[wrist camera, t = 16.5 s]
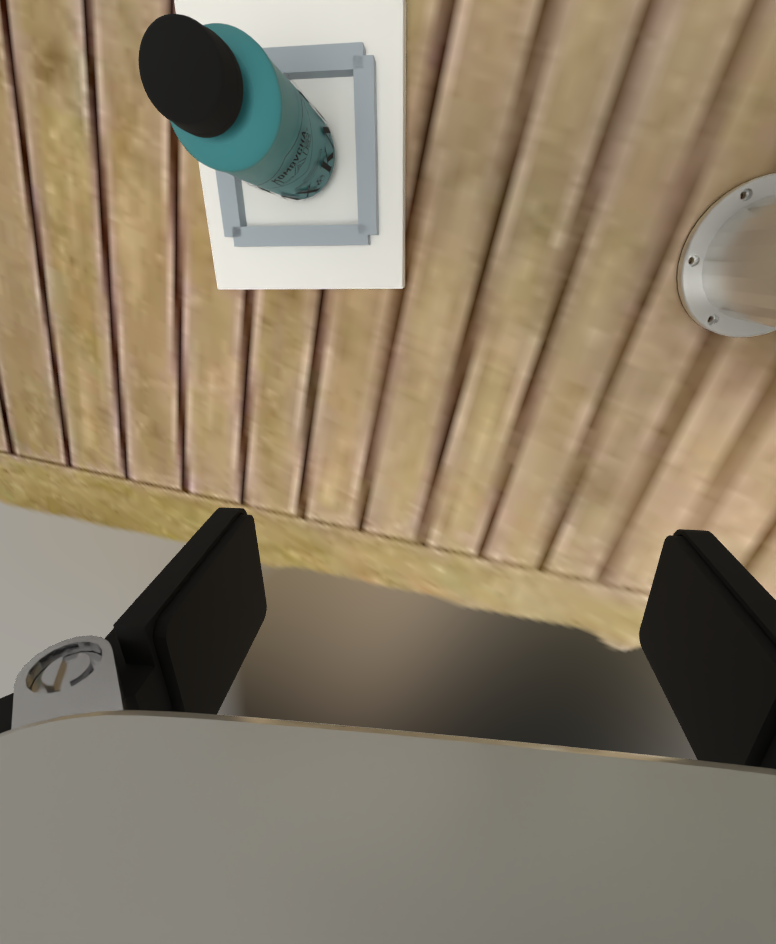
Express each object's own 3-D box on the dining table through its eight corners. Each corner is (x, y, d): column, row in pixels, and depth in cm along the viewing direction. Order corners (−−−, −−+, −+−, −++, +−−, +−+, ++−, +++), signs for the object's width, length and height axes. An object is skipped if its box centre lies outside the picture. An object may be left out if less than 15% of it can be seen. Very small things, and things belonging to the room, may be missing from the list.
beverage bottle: (254, 183, 39) (93, 124, 21) (277, 91, 37) (114, -67, 19) (326, 218, 40) (229, 188, 22) (355, 129, 37) (269, 11, 19)
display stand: (406, 4, 36) (401, -28, 32) (405, 286, 44) (401, 289, 40) (193, 18, 38) (163, -10, 34) (231, 287, 46) (210, 290, 42)
